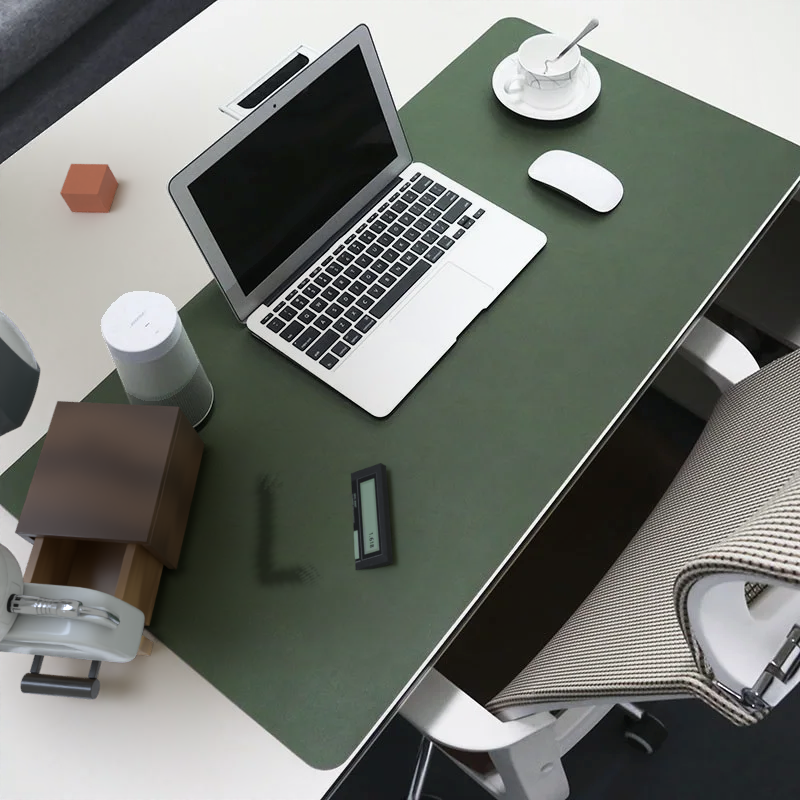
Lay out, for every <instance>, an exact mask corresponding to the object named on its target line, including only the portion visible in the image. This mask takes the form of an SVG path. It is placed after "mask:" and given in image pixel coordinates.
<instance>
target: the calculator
mask: <svg viewBox="0 0 800 800" xmlns="http://www.w3.org/2000/svg"><path fill="white" fill-rule="evenodd" d="M350 485H351V505H352V526H353V545H354V547H353V548H354V564H355V565H354V566H355V568H354V569H355V571H361V570H362V571H363V570H372V569H377V568H378V569H379V568H380V567H381V568H382V567H385V566H388V565H393V564H394V561H393V558H394V557H393V544H392V532H391V518H390V503H389V502H390V501H389V491H388V475H387V465H385V464H383V463H382V462H379V463H377V464H374V465H371V466H368V467H365V468H363V469H359V470H357V471H354V472H351V473H350Z"/></svg>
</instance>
